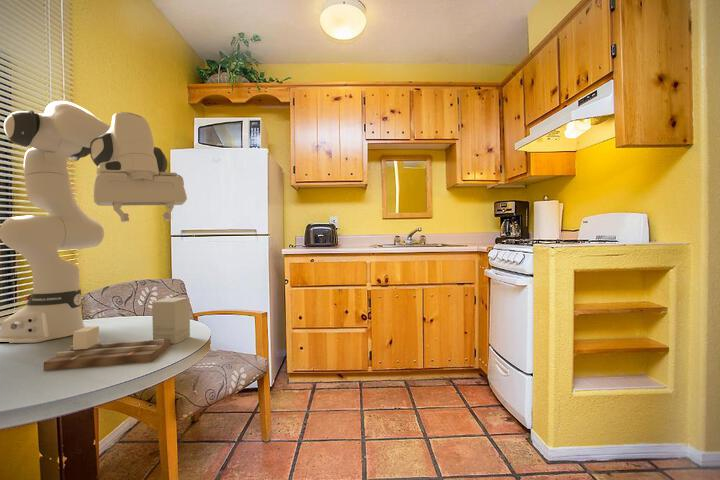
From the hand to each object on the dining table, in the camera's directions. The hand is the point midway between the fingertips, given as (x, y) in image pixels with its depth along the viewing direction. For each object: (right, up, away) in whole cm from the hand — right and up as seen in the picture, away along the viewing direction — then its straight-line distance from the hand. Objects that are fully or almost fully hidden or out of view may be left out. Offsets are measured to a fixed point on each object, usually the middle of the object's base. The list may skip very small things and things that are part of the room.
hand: (147, 220), depth 83 cm
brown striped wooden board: (-9, -36, 0) cm, 37 cm away
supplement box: (-2, -36, +14) cm, 39 cm away
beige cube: (-15, -34, -1) cm, 37 cm away
